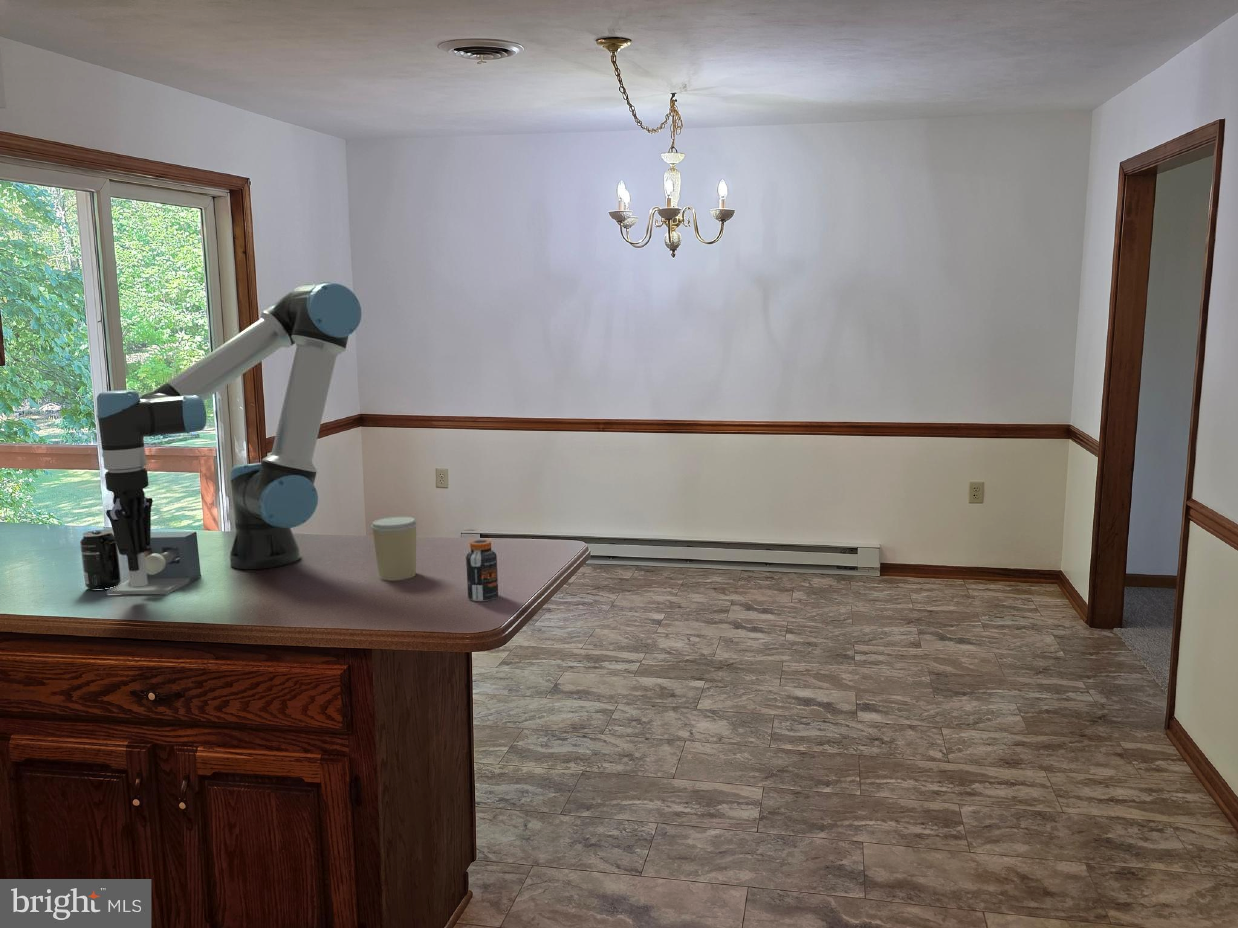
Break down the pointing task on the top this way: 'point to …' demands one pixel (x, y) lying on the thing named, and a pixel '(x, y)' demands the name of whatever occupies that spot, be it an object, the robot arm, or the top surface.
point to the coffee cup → (395, 547)
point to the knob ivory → (160, 560)
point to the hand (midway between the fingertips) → (139, 584)
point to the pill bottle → (482, 571)
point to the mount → (168, 565)
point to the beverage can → (100, 559)
